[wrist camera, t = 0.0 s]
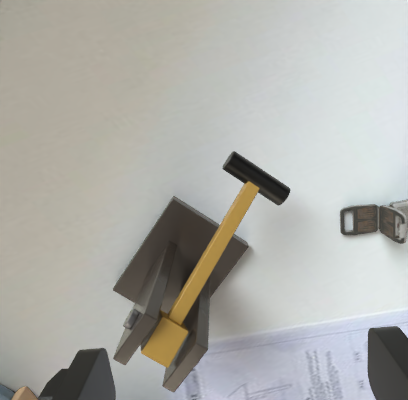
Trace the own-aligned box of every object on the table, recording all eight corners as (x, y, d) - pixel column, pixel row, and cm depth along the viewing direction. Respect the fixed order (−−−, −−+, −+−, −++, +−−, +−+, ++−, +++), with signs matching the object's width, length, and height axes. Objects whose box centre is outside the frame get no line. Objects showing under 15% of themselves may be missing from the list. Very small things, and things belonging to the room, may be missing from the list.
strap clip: (427, 196, 34) (455, 208, 30) (426, 225, 35) (453, 241, 31) (338, 206, 35) (355, 220, 31) (339, 234, 36) (355, 252, 32)
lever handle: (229, 154, 29) (237, 147, 27) (282, 190, 30) (295, 186, 28) (121, 331, 26) (120, 341, 24) (183, 367, 27) (188, 379, 25)
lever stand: (173, 195, 35) (148, 253, 22) (247, 242, 36) (265, 324, 23) (115, 284, 38) (61, 382, 25) (185, 325, 39) (169, 440, 26)
